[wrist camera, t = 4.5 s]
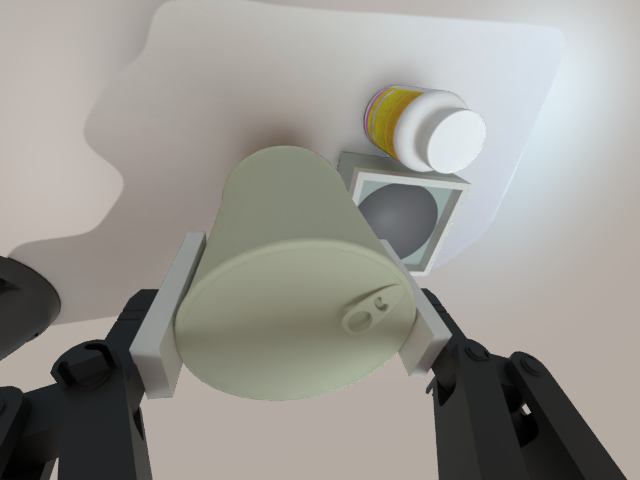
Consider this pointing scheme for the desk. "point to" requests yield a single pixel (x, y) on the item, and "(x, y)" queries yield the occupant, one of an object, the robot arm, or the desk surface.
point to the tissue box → (404, 205)
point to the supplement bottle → (425, 128)
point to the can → (291, 285)
